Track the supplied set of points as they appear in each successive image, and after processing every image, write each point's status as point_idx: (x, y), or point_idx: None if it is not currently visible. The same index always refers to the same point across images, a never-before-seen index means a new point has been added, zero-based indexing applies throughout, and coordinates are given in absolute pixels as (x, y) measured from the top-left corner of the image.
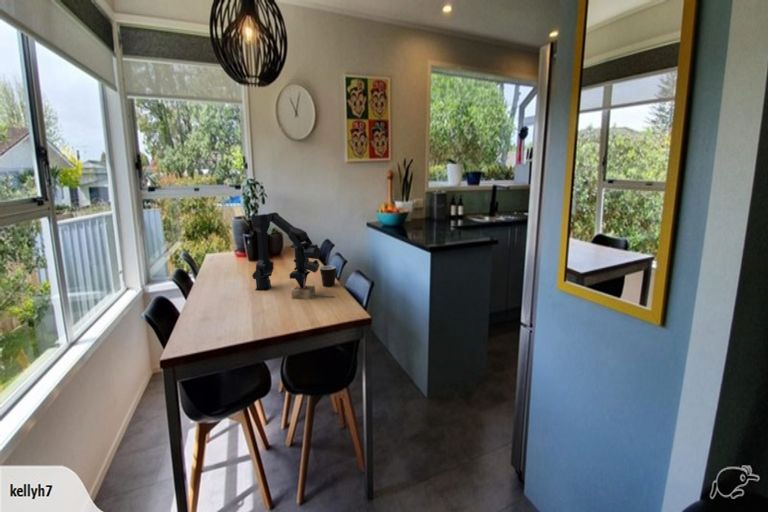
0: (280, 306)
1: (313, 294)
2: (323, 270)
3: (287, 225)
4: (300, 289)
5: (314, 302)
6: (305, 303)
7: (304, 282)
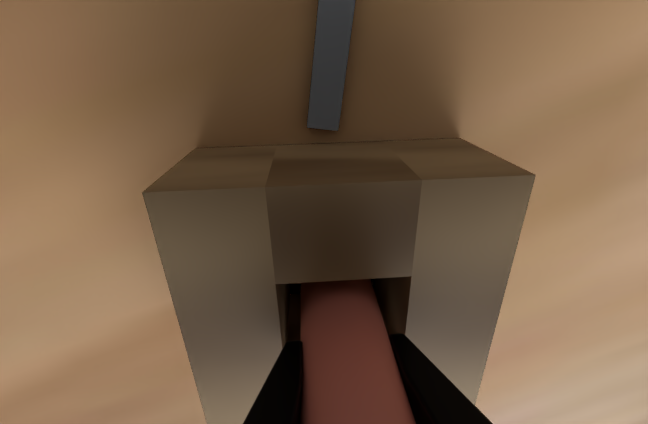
0: (626, 345)
1: (273, 146)
2: None
3: None
4: None
5: (608, 13)
6: (612, 139)
7: (392, 419)
